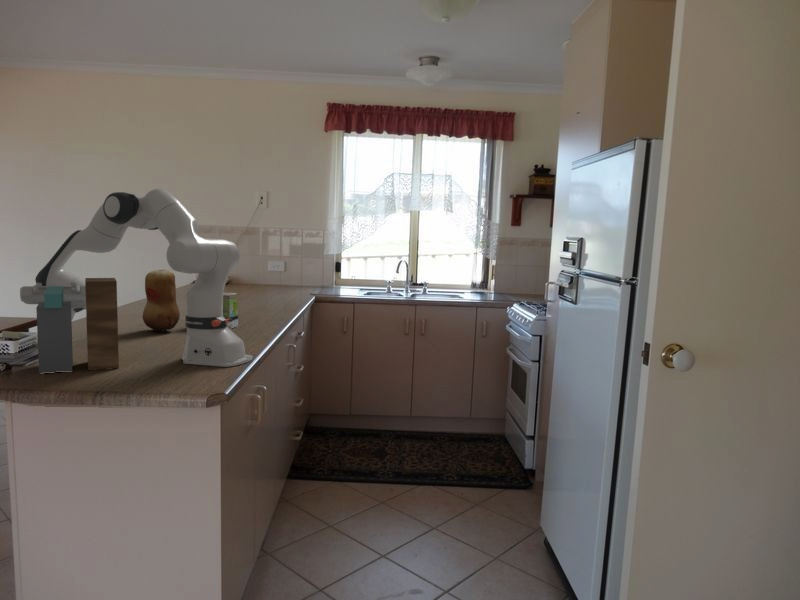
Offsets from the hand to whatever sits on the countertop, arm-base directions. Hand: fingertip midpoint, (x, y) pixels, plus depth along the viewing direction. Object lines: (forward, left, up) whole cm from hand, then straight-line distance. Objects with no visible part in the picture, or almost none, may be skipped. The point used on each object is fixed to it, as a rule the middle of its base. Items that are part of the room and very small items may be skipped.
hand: (56, 284), depth 179 cm
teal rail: (-13, +11, -4) cm, 17 cm away
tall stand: (-22, +3, -23) cm, 32 cm away
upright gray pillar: (-15, +12, -23) cm, 30 cm away
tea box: (-8, -67, -23) cm, 71 cm away
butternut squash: (+4, -48, -23) cm, 53 cm away
